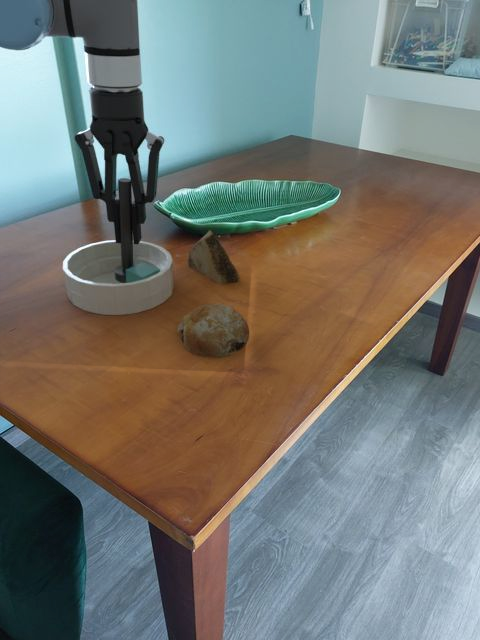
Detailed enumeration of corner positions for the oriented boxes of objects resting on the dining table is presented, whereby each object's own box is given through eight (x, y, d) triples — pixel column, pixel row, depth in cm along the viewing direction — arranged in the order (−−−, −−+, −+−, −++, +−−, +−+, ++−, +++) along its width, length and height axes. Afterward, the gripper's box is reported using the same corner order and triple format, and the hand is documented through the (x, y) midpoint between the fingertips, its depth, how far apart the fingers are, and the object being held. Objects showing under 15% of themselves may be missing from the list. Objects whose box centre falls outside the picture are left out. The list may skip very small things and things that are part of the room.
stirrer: (111, 273, 93) (106, 176, 84) (136, 271, 95) (134, 175, 86) (118, 285, 90) (114, 185, 81) (144, 281, 92) (142, 183, 83)
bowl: (53, 316, 85) (46, 282, 81) (85, 267, 99) (81, 237, 96) (164, 322, 85) (162, 288, 82) (180, 272, 100) (179, 242, 96)
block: (126, 291, 91) (125, 269, 88) (143, 282, 94) (142, 262, 91) (144, 298, 89) (143, 277, 87) (160, 290, 92) (160, 269, 90)
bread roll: (210, 385, 78) (230, 353, 73) (160, 339, 79) (176, 304, 74) (248, 354, 85) (268, 322, 80) (201, 312, 86) (218, 278, 81)
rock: (171, 256, 100) (181, 272, 91) (197, 217, 98) (209, 230, 90) (217, 284, 105) (231, 302, 97) (242, 248, 104) (258, 263, 95)
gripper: (173, 86, 80) (177, 234, 93) (70, 79, 80) (89, 229, 93) (164, 95, 74) (170, 252, 87) (52, 87, 73) (76, 246, 87)
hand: (128, 240), depth 90 cm, fingers closed on stirrer, 2 cm apart
